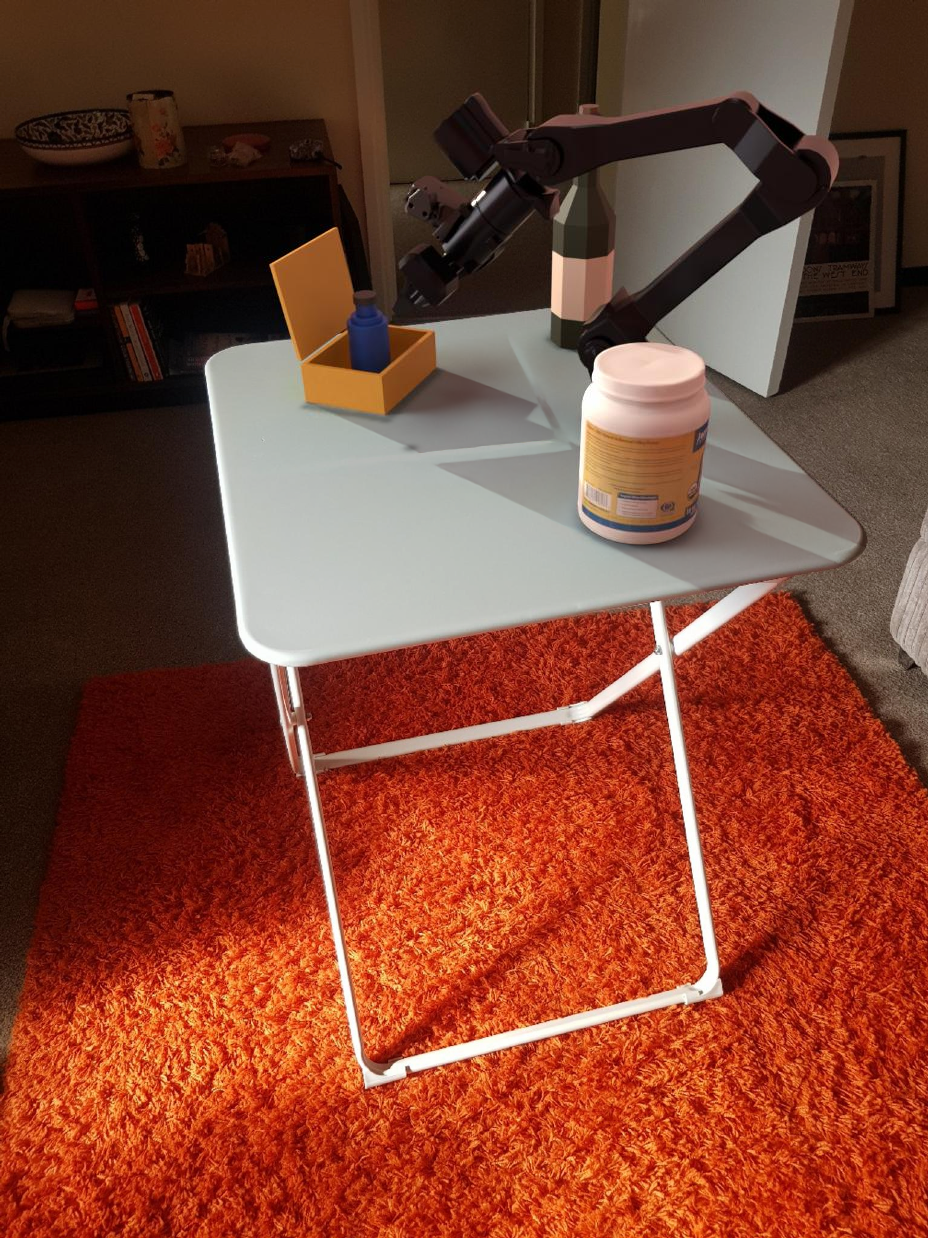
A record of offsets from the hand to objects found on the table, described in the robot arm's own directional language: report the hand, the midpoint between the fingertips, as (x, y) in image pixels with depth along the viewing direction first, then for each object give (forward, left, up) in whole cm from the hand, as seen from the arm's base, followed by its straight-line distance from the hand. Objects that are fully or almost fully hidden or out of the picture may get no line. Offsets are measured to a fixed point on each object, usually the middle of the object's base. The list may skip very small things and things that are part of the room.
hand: (412, 299), depth 119 cm
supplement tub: (-19, +34, -13) cm, 41 cm away
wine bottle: (-25, -14, -13) cm, 31 cm away
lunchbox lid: (+11, -7, -1) cm, 13 cm away
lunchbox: (+6, -3, -12) cm, 14 cm away
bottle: (+6, -3, -12) cm, 14 cm away
